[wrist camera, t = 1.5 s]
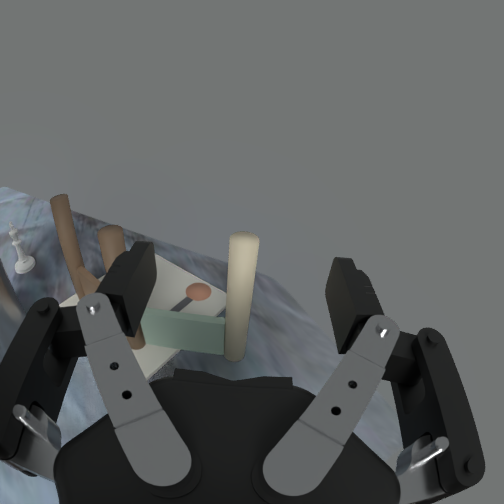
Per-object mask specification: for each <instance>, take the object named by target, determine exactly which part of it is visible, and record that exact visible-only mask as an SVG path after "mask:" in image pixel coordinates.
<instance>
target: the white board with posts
mask: <svg viewBox="0 0 504 504" xmlns="http://www.w3.org/2000/svg"><path fill="white" fill-rule="evenodd" d="M50 204H51V209H52V213H53V217H54V221H55V225H56V229H57V233H58V237H59V240H60V244H61V247H62V251H63V254H64V257H65V261H66V264H67V267H68V270H69V273H70V276H71V279H72V282H73V285H74V288H75V290H76V294H74V295H73V296H71V297H70V298H69V299H67V300H66V301H64V302H63V303H61V304H60V305H59V306H60V307H67V306H76V305H77V303H78V302H79V300H80V299H81V298H82V297H84V296H86V295H88V294H91V293H95V291H96V290H97V288H98V286H99V285H100V283H101V281H102V280H103V278H104V276H105V275H106V274H105V275H104V276H102V277H101V278H99V279H97V278H96V277H94V276H93V275H92V274H91V273H90V272H89V271H87V270H86V269H85V266H84V263H83V259H82V256H81V252H80V248H79V244H78V240H77V236H76V232H75V228H74V224H73V219H72V214H71V210H70V205H69V200H68V195H67V194H60V195H57V196H54V197H53V198H51V199H50ZM97 235H98V240H99V244H100V249H101V253H102V257H103V262H104V266H105V270H106V273H107V272H108V270H109V268H110V267H111V266H112V263H113V262H114V260H115V259H116V257H117V256H119V255H120V254H121V253H123V252H124V251H126V247H125V241H124V235H123V229H122V227H121V226H118V225H108V226H105V227H103V228H101V229H100V230H99V231H98V233H97ZM155 260H156V267H157V279H156V283H155V286H154V288H153V291H152V293H151V296H150V298H149V301H148V303H147V306H146V307H148V308H155V309H161V310H168V311H175V312H183V313H190V314H198V315H206V316H215V317H217V316H218V315H219V314H220V313H221V312H222V311H223V310H224V309H225V308H226V296H227V293H225V292H224V291H222V290H220V289H218V288H216V287H214V286H212V285H211V284H209V283H207V282H205V281H203V280H201V279H200V278H198V277H196V276H194V275H192V274H191V273H189V272H187V271H185V270H183V269H182V268H180V267H178V266H176V265H175V264H173V263H171V262H169V261H167V260H166V259H164V258H162V257H160V256H159V255H157V254H155ZM126 338H127V341H128V343H129V345H130V347H131V349H132V351H133V353H134V356H135V358H136V360H137V362H138V364H139V366H140V368H141V370H142V372H143V374H144V376H145V378H146V380H148V379H150V378H151V377H152V376H153V375H154V374H155V373H156V372H157V371H158V370H159V369H161V368H162V367H163V366H164V365H165V364H166V363H167V362H168V361H169V360H170V359H171V358H173V357H174V356H175V355H176V354H177V353H178V352H179V351H180V349H174V348H167V347H161V346H156V345H150V344H146V342H145V338H144V334H143V331H142V327H141V323H140V324H139V327H138V329H137V332H136V335H135V338H134V337H128V336H126Z"/></svg>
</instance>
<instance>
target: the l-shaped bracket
mask: <svg viewBox="0 0 504 504" xmlns="http://www.w3.org/2000/svg"><path fill="white" fill-rule="evenodd" d="M258 248H259V238H258V237H257V236H256V235H255V234H253V233H250V232H245V231H240V232H236V233H234V234H232V235H231V236H230V242H229V259H228V277H227V296H226V317H225V318H223V317H215V316H206V315H198V314H190V313H183V312H175V311H168V310H161V309H155V308H148V307H146V309H145V311H144V314H143V316H142V319H141V322H140V323H141V327H142V331H143V334H144V338H145V342H146V344H150V345H156V346H161V347H167V348H174V349H180V350H187V351H194V352H202V353H209V354H218V355H224V356H225V358H226V359H227V360H229V361H231V362H238V361H240V360H242V359H243V358H244V355H245V348H246V340H247V333H248V325H249V318H250V310H251V302H252V295H253V287H254V279H255V271H256V264H257V256H258Z"/></svg>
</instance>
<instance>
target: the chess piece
mask: <svg viewBox="0 0 504 504" xmlns="http://www.w3.org/2000/svg"><path fill="white" fill-rule="evenodd" d="M9 226H10V227H11V231H10V232H9V235H10V236H11V237H12V239H13V240H14V241H13V242H12V245H13V246H16V249H17V253H18V257H19V260H18V261H17V262H16V264H15V270H16V272H17V273H19V274H24V273H27V272H29V271H30V270H31V269H33V267H34V266H35V263H36V262H35V260H34V258H33V257H32V256H25V254H24V252H23V250H22V248H21V246H20V243H21V239H18V229H16V228H15V229H14V226H13V225H12V222H9Z"/></svg>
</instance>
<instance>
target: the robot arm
mask: <svg viewBox="0 0 504 504" xmlns="http://www.w3.org/2000/svg"><path fill="white" fill-rule="evenodd" d="M156 279H157V267H156V260H155V251H154V245H153V242H145V241H136V242H135V243H134V244H133V246H132V248H131V249H130V251H124V252H123V253H121V254H120V255H119V256H117V257H116V259H115V260H114V262H113V263H112V266H111V267H110V268H109V270H108V272H107V273H106V275H105V276H104V278H103V280H102V281H101V283H100V285H99V286H98V288H97V290H96V291H95V293H91V294H88V295H86V296H84V297H82V298H81V299H80V300H79V302H78V303H77V305H76V306H67V307H60V306H59V304H58V302H57V300H55V299H54V298H50V297H47V298H42V299H40V300H38V301H36V302H35V303H34V304H33V305H32V307H31V308H30V310H29V312H28V313H27V315H26V313H25V311H24V309H23V307H22V305H21V303H20V301H19V299H18V297H17V295H16V293H15V291H14V289H13V287H12V284H11V282H10V280H9V278H8V276H7V273H6V271H5V269H4V266H3V264H2V261H1V259H0V460H1V461H2V462H4V463H5V464H7V465H9V466H10V467H12V468H14V469H16V470H19V471H21V472H22V473H24V474H26V475H28V476H31V477H35V476H40V477H42V478H44V479H47V480H49V481H52V482H54V483H55V485H56V489H57V493H58V497H59V504H432V503H435V502H437V501H440V500H442V499H444V498H447V497H449V496H452V495H454V494H456V493H459V492H461V491H463V490H465V489H467V488H469V487H471V486H473V485H475V484H477V483H478V482H479V481H480V480H481V479H482V477H483V475H484V472H485V461H484V456H483V452H482V448H481V444H480V440H479V436H478V432H477V429H476V425H475V422H474V418H473V415H472V412H471V409H470V405H469V402H468V399H467V396H466V393H465V390H464V387H463V385H462V382H461V379H460V376H459V373H458V371H457V368H456V366H455V363H454V360H453V358H452V355H451V353H450V350H449V348H448V346H447V344H446V341H445V339H444V337H443V336H442V335H441V334H440V333H439V332H438V331H436V330H435V329H432V328H423V329H421V330H420V331H419V333H418V334H417V335H413V334H409V333H405V332H402V331H400V330H399V327H398V325H397V324H396V323H395V321H393V320H392V319H390V318H389V317H387V316H385V315H384V313H383V310H382V308H381V306H380V303H379V300H378V298H377V296H376V294H375V291H374V289H373V287H372V284H371V282H370V280H369V277H368V276H367V275H366V274H365V273H364V272H363V271H362V270H357V269H356V267H355V264H354V262H353V260H352V259H351V258H340V257H335V258H334V260H333V263H332V267H331V270H330V274H329V277H328V280H327V284H326V290H325V293H326V294H325V295H326V301H327V305H328V309H329V313H330V318H331V322H332V326H333V330H334V335H335V339H336V344H337V349H338V354H345V356H344V357H343V359H342V360H341V362H340V363H339V365H338V366H337V368H336V369H335V371H334V372H333V373H332V375H331V376H330V378H329V379H328V381H327V382H326V383H325V385H324V386H323V388H322V389H321V390H320V392H319V393H318V395H317V396H315V395H314V394H312V393H310V392H309V391H307V390H305V389H302V388H299V387H297V386H293V383H292V377H267V376H263V377H257V378H250V379H244V380H237V381H231V380H228V379H224V378H221V377H218V376H215V375H212V374H209V373H206V372H202V371H193V370H185V369H177V368H175V371H174V376H171V377H165V378H161V379H158V380H155V381H153V382H150V383H148V381H147V380H146V378H145V376H144V374H143V372H142V370H141V368H140V366H139V364H138V362H137V360H136V358H135V356H134V353H133V351H132V349H131V347H130V345H129V343H128V341H127V338H126V336H128V337H134V338H135V335H136V332H137V329H138V327H139V324H140V322H141V319H142V316H143V314H144V311H145V309H146V306H147V303H148V301H149V298H150V296H151V293H152V291H153V288H154V286H155V283H156ZM44 356H45V357H44ZM84 356H87V357H88V360H89V363H90V366H91V369H92V372H93V375H94V378H95V381H96V383H97V386H98V389H99V391H100V394H101V397H102V399H103V402H104V404H105V407H106V409H107V412H108V414H106V415H105V416H104V417H102V418H101V419H99V420H98V421H97V422H95V423H94V424H93V425H91V426H90V427H88V428H87V429H86V430H84V431H83V432H81V433H80V434H79V435H77V436H76V437H74V438H73V439H72V440H70V441H69V442H67V443H66V444H65V445H64V446H63V447H62V448H61V431H60V428H59V427H58V425H57V424H56V422H57V419H58V415H59V412H60V409H61V406H62V402H63V399H64V396H65V393H66V390H67V387H68V385H69V382H70V379H71V376H72V373H73V371H74V368H75V365H76V362H77V360H78V357H84ZM381 379H382V380H387V381H390V382H391V386H392V390H393V395H394V400H395V404H396V409H397V414H398V419H399V425H400V430H401V436H402V442H403V448H404V450H403V451H402V452H401V453H400V454H399V456H398V459H397V467H396V472H394V471H393V470H392V469H391V468H390V467H389V466H388V465H387V464H386V463H385V462H384V461H383V460H382V459H381V458H380V457H379V456H378V455H377V454H375V453H374V452H373V451H372V450H371V449H370V448H369V447H368V446H367V445H366V444H365V443H364V442H363V441H362V440H361V439H360V438H359V437H358V436H357V435H355V434H354V433H353V430H354V428H355V427H356V425H357V423H358V422H359V420H360V418H361V416H362V415H363V413H364V411H365V409H366V407H367V406H368V404H369V402H370V400H371V398H372V396H373V394H374V392H375V390H376V388H377V386H378V385H379V383H380V380H381Z"/></svg>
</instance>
